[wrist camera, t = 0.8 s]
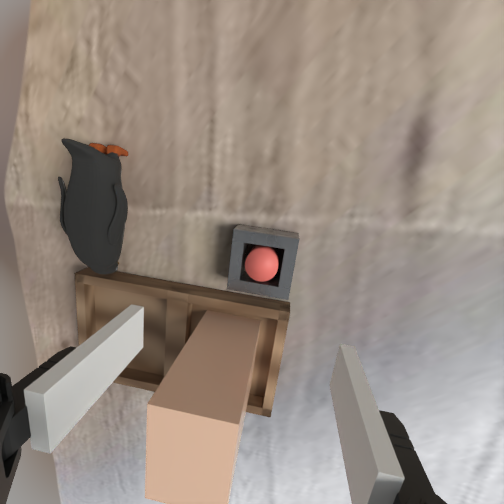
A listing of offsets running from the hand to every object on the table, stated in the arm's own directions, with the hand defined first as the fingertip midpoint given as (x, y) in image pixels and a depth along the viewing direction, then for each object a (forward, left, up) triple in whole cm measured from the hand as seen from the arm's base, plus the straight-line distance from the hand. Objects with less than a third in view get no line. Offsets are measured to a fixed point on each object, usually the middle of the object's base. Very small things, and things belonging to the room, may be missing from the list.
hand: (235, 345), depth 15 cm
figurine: (-3, -19, -18) cm, 27 cm away
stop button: (0, 0, -17) cm, 17 cm away
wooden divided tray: (+13, -10, -18) cm, 24 cm away
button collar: (0, 0, -18) cm, 18 cm away
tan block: (+13, -3, -17) cm, 22 cm away
